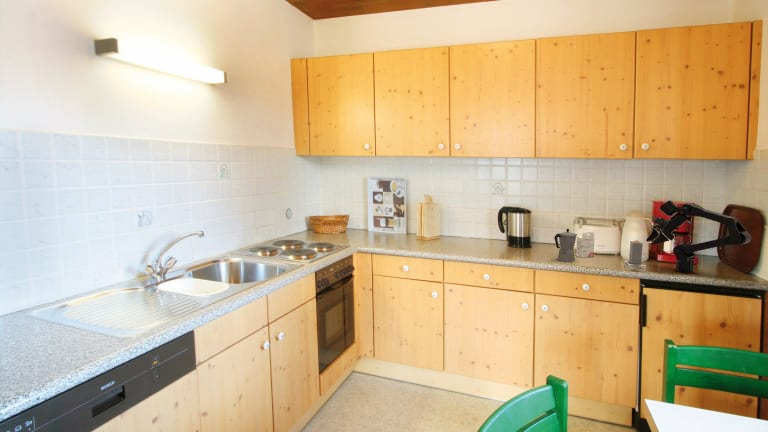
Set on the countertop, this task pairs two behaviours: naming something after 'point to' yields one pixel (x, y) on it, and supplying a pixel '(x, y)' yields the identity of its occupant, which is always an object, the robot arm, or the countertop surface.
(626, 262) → the rail dock
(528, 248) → the countertop surface
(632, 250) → the block
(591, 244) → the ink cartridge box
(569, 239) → the coffeepot
